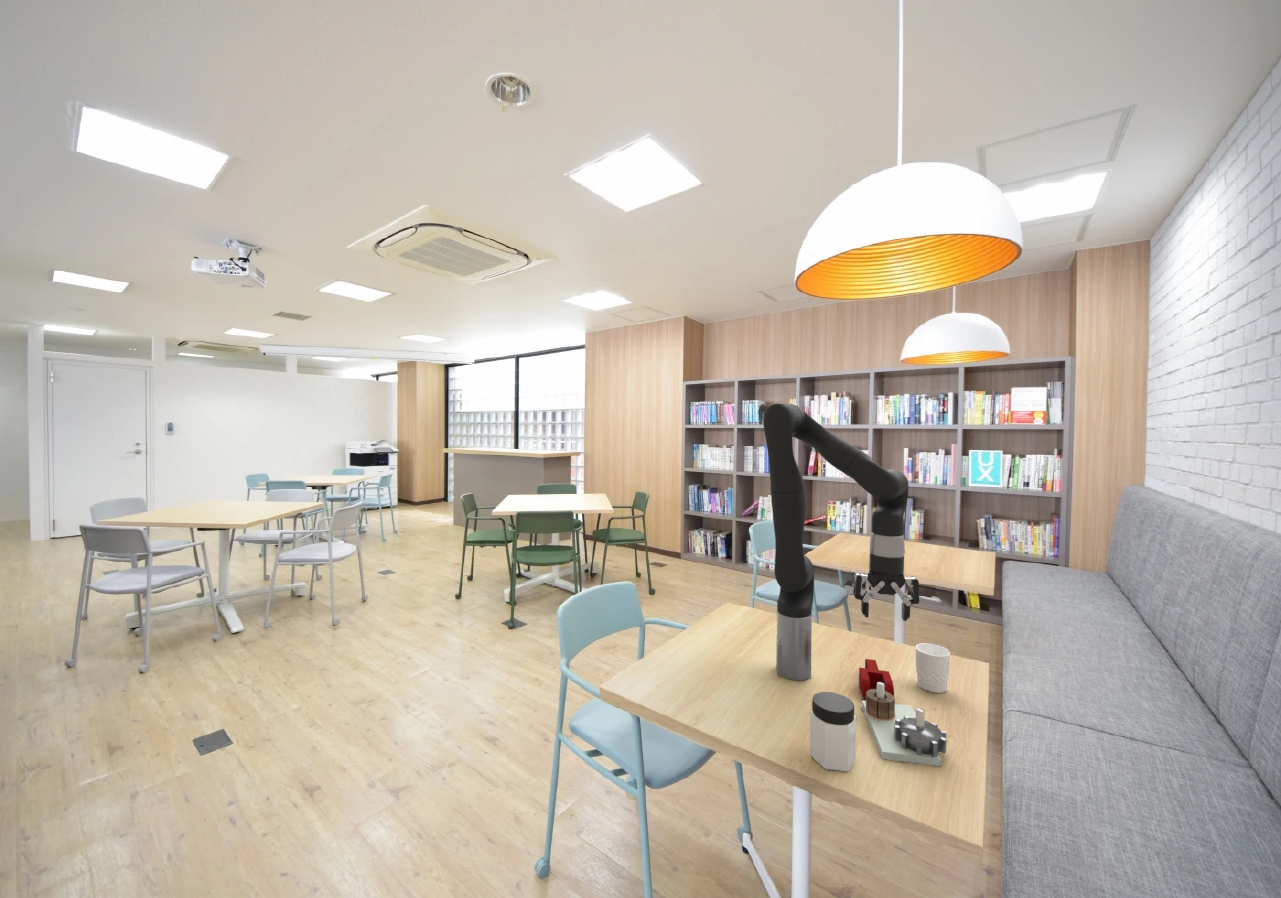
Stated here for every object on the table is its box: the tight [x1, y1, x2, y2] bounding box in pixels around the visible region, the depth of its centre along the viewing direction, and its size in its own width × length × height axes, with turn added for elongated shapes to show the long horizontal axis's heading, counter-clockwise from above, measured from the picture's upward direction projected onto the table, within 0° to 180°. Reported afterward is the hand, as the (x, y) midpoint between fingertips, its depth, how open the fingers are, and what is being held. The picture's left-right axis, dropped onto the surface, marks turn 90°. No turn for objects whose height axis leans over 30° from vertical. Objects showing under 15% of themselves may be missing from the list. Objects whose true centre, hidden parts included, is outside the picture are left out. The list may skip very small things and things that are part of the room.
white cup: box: [915, 642, 951, 694], centre depth 132 cm, size 8×8×10 cm
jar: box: [809, 691, 857, 772], centre depth 103 cm, size 9×8×12 cm
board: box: [861, 682, 942, 767], centre depth 112 cm, size 11×20×8 cm, turn 167°
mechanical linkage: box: [858, 658, 895, 699], centre depth 132 cm, size 16×7×5 cm, turn 162°
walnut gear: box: [865, 689, 896, 720], centre depth 117 cm, size 6×6×4 cm
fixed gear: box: [894, 707, 947, 757], centre depth 106 cm, size 10×10×7 cm
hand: (884, 618), depth 122 cm, fingers open, 8 cm apart
